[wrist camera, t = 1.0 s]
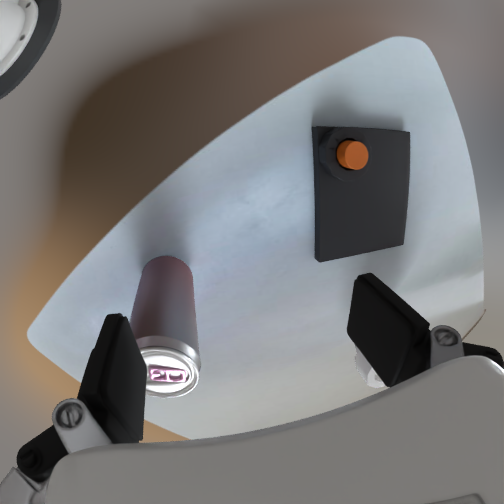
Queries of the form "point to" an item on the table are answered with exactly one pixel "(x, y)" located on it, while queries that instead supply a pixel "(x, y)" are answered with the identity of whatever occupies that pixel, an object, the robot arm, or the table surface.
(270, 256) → the table surface
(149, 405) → the table surface
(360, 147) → the button
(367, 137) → the push button plate
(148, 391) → the beverage can
